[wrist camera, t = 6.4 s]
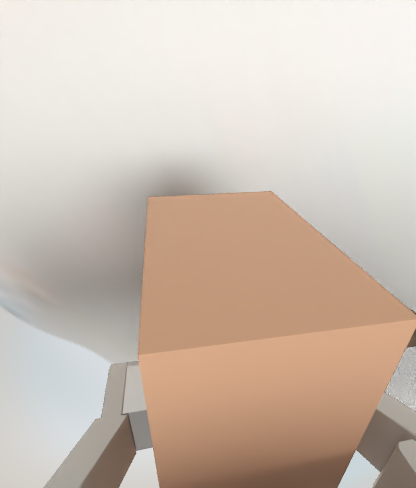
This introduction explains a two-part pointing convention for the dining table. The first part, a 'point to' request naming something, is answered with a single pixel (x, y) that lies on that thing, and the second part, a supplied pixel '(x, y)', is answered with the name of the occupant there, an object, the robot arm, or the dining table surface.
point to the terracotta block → (258, 344)
